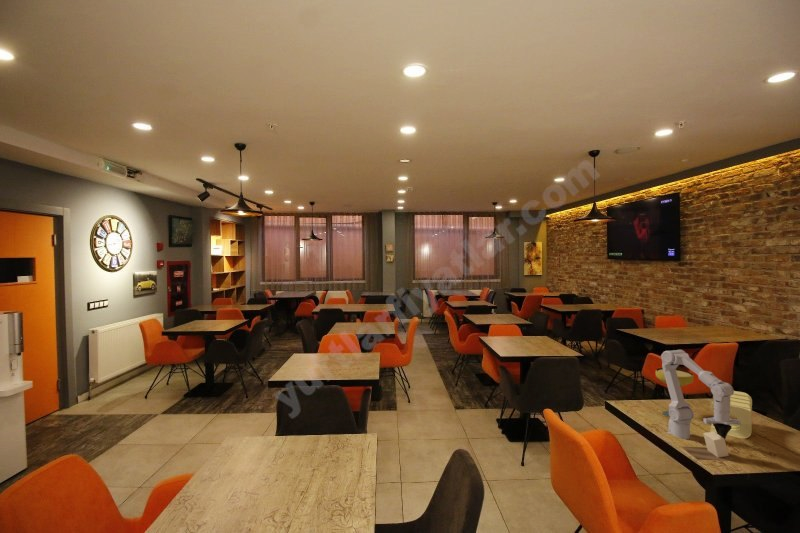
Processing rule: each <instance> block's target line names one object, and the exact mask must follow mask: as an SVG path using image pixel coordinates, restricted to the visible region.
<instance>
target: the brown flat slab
mask: <svg viewBox="0 0 800 533" xmlns="http://www.w3.org/2000/svg"><path fill="white" fill-rule="evenodd" d="M681 448H682V449H683V450H685V451H686V452H687V453H689V454H690V455H691V456H692V457H694V458H695V459H696V460H698V461H699V460H701V461H722V462H723V461H724V462H736V460H735V459H734V458H732V457H731V456H730V455H729V456H724V457H719V458H718V457H717V456H715V455H714V454H712V453H711V452H710V451H708V450H707V447H702V446H681Z"/></svg>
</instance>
